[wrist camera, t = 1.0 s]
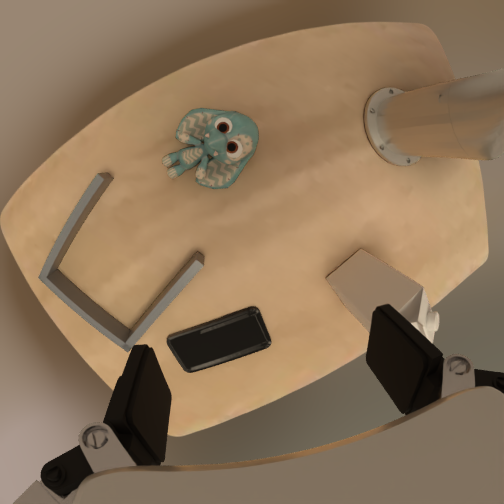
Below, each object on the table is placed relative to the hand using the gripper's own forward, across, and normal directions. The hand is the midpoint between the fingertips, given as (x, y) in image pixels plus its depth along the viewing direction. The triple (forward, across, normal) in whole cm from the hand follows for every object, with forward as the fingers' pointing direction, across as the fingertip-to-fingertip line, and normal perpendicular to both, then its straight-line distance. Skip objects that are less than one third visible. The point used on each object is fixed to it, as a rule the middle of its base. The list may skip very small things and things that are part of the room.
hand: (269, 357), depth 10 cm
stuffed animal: (+27, +2, -10) cm, 29 cm away
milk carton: (+27, -17, +11) cm, 34 cm away
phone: (+26, +5, +18) cm, 32 cm away
